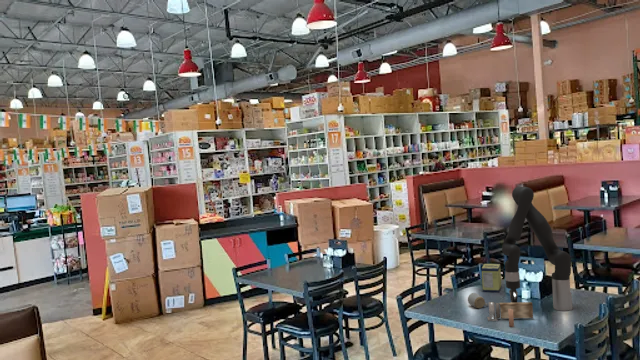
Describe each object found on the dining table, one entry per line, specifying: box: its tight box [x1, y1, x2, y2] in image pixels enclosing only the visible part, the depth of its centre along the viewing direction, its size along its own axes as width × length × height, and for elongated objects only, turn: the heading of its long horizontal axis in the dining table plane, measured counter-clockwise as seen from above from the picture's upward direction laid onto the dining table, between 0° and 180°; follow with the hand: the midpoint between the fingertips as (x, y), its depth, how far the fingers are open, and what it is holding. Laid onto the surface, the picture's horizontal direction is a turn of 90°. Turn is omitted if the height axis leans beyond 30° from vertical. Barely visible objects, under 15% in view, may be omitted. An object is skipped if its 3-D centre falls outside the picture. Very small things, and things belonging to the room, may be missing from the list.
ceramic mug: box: [467, 292, 489, 309], centre depth 313 cm, size 11×8×8 cm
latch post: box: [508, 309, 515, 328], centre depth 276 cm, size 2×2×9 cm
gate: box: [494, 301, 534, 319], centre depth 286 cm, size 19×2×8 cm, turn 78°
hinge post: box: [486, 301, 499, 322], centre depth 289 cm, size 5×5×10 cm
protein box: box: [481, 263, 503, 293], centre depth 348 cm, size 10×16×16 cm
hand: (514, 309), depth 295 cm, fingers closed
